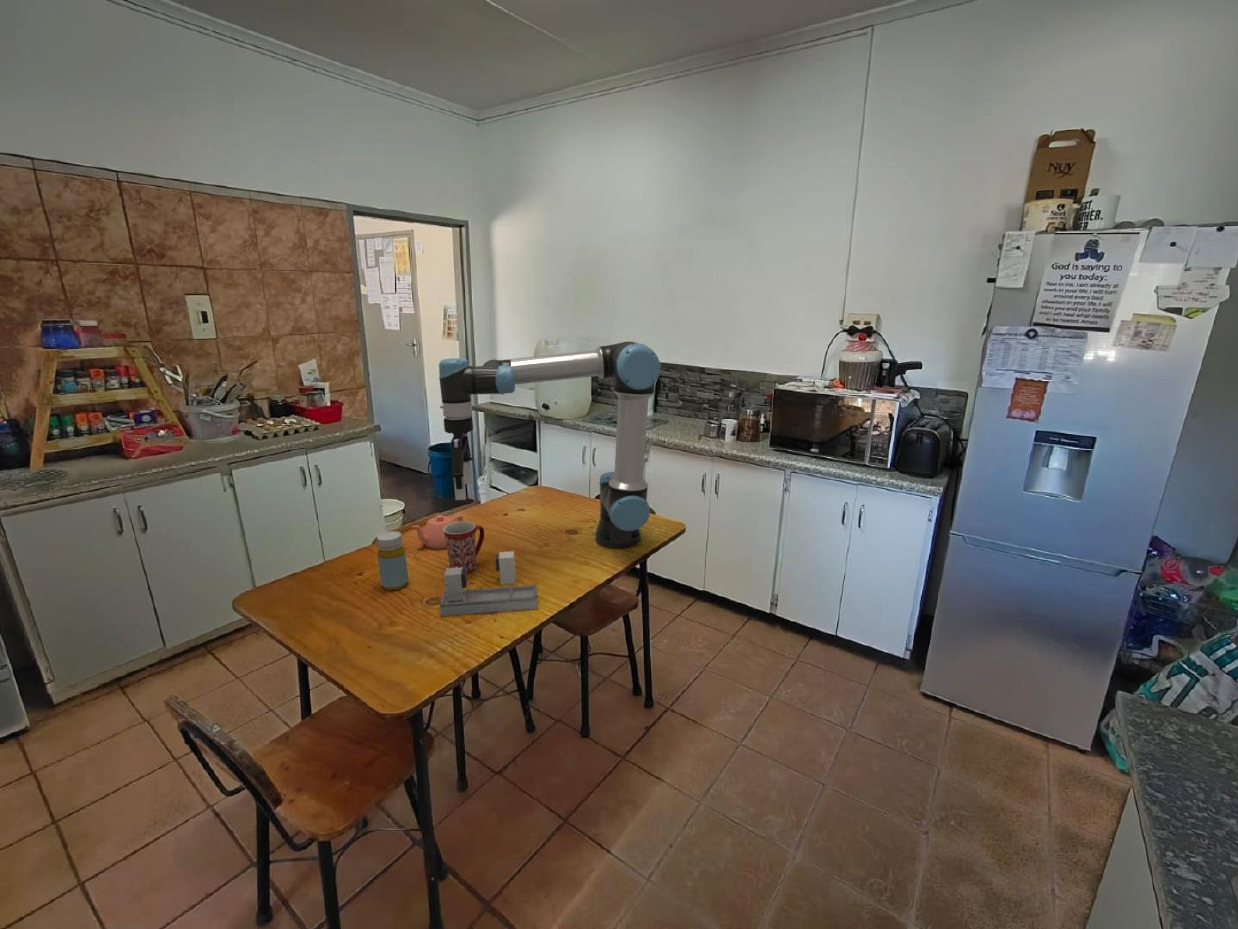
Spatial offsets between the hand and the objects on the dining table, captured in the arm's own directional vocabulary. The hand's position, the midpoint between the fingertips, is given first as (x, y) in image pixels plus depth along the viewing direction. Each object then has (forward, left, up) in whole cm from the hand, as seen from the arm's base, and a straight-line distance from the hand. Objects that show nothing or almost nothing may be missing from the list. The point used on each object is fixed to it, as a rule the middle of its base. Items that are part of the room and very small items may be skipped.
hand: (464, 491), depth 156 cm
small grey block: (-11, +8, -25) cm, 28 cm away
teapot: (+12, -21, -25) cm, 35 cm away
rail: (-7, +21, -25) cm, 33 cm away
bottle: (+20, +6, -25) cm, 32 cm away
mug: (+1, -2, -25) cm, 25 cm away
